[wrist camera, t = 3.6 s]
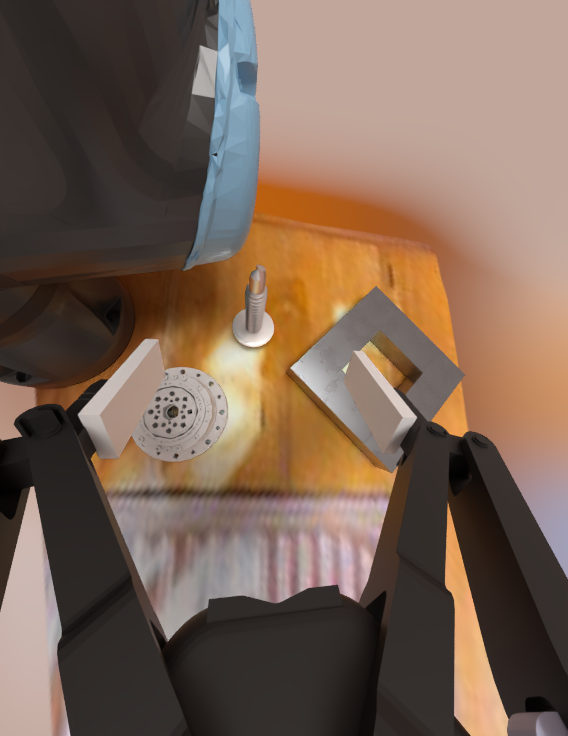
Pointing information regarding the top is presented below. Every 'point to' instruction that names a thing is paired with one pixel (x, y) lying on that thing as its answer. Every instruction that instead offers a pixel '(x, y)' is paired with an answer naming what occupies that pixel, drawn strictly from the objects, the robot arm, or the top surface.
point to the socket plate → (399, 344)
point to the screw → (254, 313)
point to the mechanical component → (182, 416)
